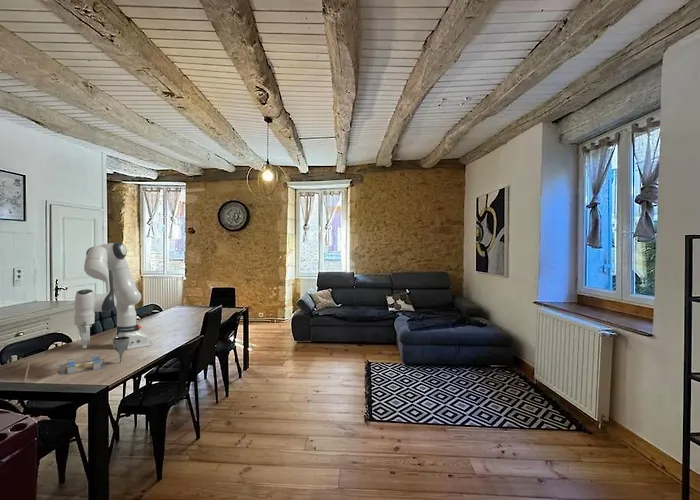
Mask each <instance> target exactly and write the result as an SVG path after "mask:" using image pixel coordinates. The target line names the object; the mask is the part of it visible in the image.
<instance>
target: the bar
mask: <svg viewBox="0 0 700 500" xmlns="http://www.w3.org/2000/svg"><path fill="white" fill-rule="evenodd" d="M101 367H102V360H101V362H100V368H101ZM88 369H93V362H87V363H80V364H75V371H81V370H88ZM65 373H68V367H67V365H66V366H65Z"/></svg>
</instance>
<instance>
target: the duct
mask: <svg viewBox="0 0 700 500" xmlns="http://www.w3.org/2000/svg"><path fill="white" fill-rule="evenodd" d="M101 360H102V367H101V368H100V362H101ZM87 362H93V369H88V370H81V371H75V364H80V363H87ZM66 365H67V367H68V373H65V366H66ZM105 369H108V367H107V364H106V362H105V359H104V358H100V357H99V355H98V353H97V354H96V353H95V354H91V356H90V360H85V361H78V362H76V361H75V358H74V357H68V358H66V364H60V365H59V376H62V377H63V376H68V375H72V374H73V375H74V374H79V373H80V374H81V373H85V372H86V373H87V372H93V371H99V370H105Z"/></svg>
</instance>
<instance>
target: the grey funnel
mask: <svg viewBox="0 0 700 500" xmlns="http://www.w3.org/2000/svg"><path fill="white" fill-rule="evenodd" d="M128 345H129V337H126V336H123V337H116V336H115V337H113V338H112V346H113V350H115V352H116V353H118V354H119V364H123V362H122V361H123V355H124V353H125V352H126V350H128V349H127V348H128Z"/></svg>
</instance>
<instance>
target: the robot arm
mask: <svg viewBox="0 0 700 500" xmlns="http://www.w3.org/2000/svg"><path fill="white" fill-rule="evenodd" d="M85 253H86V254H85V259H84V265H83V271H84V272H85V274H86V275H88V276H89V277H91V278H92V279H96V280H100V281H102V282H104V283H105V291H106V292H105V293H101V294H100V293H98V294H97V293H96V294H95V292H94V290H92V289H88V288H87V289H80V290H78V291H76V293H75V298H74V311H75V312H74V318H73V320H74V321H73V322H74V323H73V325H74V326H76V328H77V329H78V334H79V337H80V338H79V339H80V342H81V346H82V349H87V348H88V342H89V341H90V339H91V328H92V325H93V324H95V320H96V319H95V316H96V312H98V313H99V312H104V313H110V312H111V311H113V310H116V327H115V335H116V336H115V338H116V337H123V336H126V337H129V345H128V348H127V349H126V350H133V349H139V348H144V347H148V346H149V347H150V346H153V345H154V344H153V343H154V342H153V341H152V340H150V337H149V335H148V334H147V333H146V332H143V330H141V329H142V325H139V324H137V311H136V308H135V305H137V304H138V303H140V302H141V300H142V294H141V292H140V290H138V287H137V285H136V283H135V281H134V280H133V279H134V278H132V274H131V271H130V268H129V264H128V262H127V259H126V256H127V253H128V249H127V247H126V245H125V244H124V243H122V242H120V241H118V242H110V243H109V242H108V243H103V244H100V245H99V244H98V245H94V246H92V247H89V248H88V249H87V250H86V252H85ZM115 288H116V289H115Z"/></svg>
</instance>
